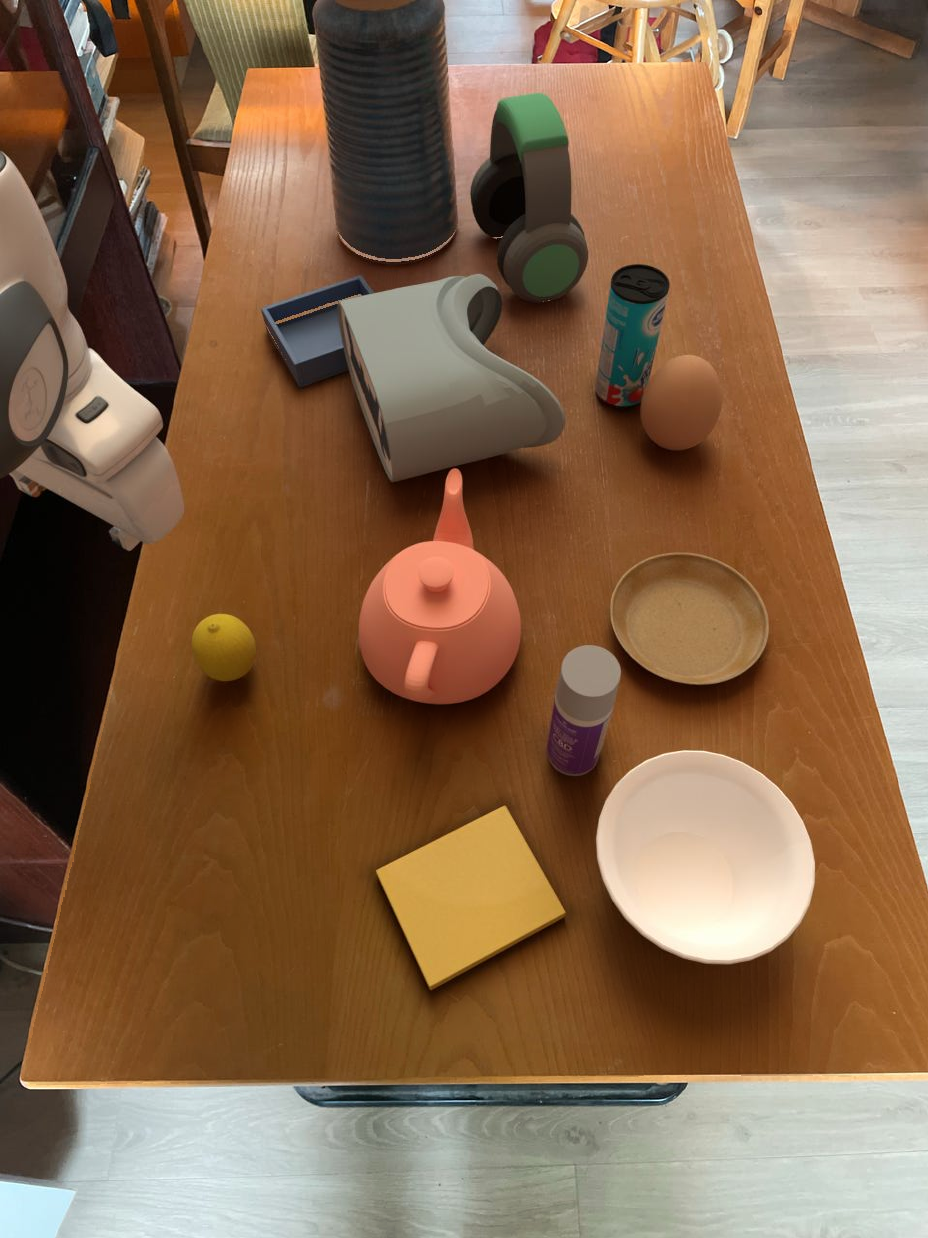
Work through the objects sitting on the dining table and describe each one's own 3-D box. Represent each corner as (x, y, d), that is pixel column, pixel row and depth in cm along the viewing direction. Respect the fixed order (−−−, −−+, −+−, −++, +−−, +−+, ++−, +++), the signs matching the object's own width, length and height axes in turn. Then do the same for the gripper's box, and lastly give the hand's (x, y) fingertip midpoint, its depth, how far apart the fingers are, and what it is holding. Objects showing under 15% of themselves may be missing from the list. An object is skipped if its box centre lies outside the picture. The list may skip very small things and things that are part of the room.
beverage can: (628, 418, 100) (650, 308, 87) (584, 396, 101) (599, 286, 89) (655, 389, 102) (680, 278, 89) (612, 368, 104) (630, 256, 91)
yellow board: (430, 991, 68) (429, 987, 66) (377, 875, 72) (375, 870, 71) (564, 917, 70) (566, 912, 69) (504, 811, 75) (505, 804, 74)
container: (540, 768, 77) (552, 689, 65) (553, 721, 80) (567, 636, 67) (592, 782, 76) (615, 705, 64) (604, 735, 79) (628, 652, 66)
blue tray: (299, 387, 103) (294, 364, 100) (266, 331, 108) (260, 307, 105) (401, 351, 106) (399, 327, 103) (364, 298, 111) (361, 274, 108)
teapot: (388, 538, 91) (377, 456, 81) (533, 555, 90) (540, 474, 79) (340, 729, 79) (319, 663, 69) (505, 753, 78) (509, 688, 68)
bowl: (572, 795, 76) (582, 756, 69) (754, 782, 76) (783, 742, 69) (600, 993, 67) (615, 972, 60) (805, 977, 68) (844, 954, 60)
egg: (718, 426, 99) (743, 347, 89) (696, 477, 95) (721, 400, 85) (647, 405, 101) (665, 325, 91) (623, 454, 97) (639, 376, 87)
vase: (331, 202, 122) (290, -68, 96) (446, 188, 124) (438, -82, 97) (344, 275, 114) (303, 1, 87) (468, 259, 115) (464, -16, 88)
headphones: (465, 228, 119) (463, 71, 102) (542, 214, 120) (553, 57, 103) (505, 317, 109) (511, 160, 92) (589, 301, 110) (609, 143, 94)
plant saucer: (581, 593, 87) (584, 578, 85) (712, 549, 90) (718, 533, 87) (650, 719, 80) (655, 706, 77) (791, 667, 82) (800, 653, 80)
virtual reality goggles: (346, 371, 104) (331, 278, 93) (497, 335, 107) (499, 241, 96) (397, 507, 93) (386, 420, 82) (563, 463, 96) (574, 373, 85)
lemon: (197, 658, 84) (172, 613, 77) (252, 635, 85) (232, 589, 78) (216, 705, 81) (192, 662, 74) (272, 680, 82) (254, 636, 76)
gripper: (-130, 347, 58) (-50, 482, 70) (115, 481, 55) (157, 601, 66) (-56, 296, 62) (9, 434, 73) (180, 421, 58) (209, 545, 70)
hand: (81, 514), depth 70 cm, fingers open, 8 cm apart
